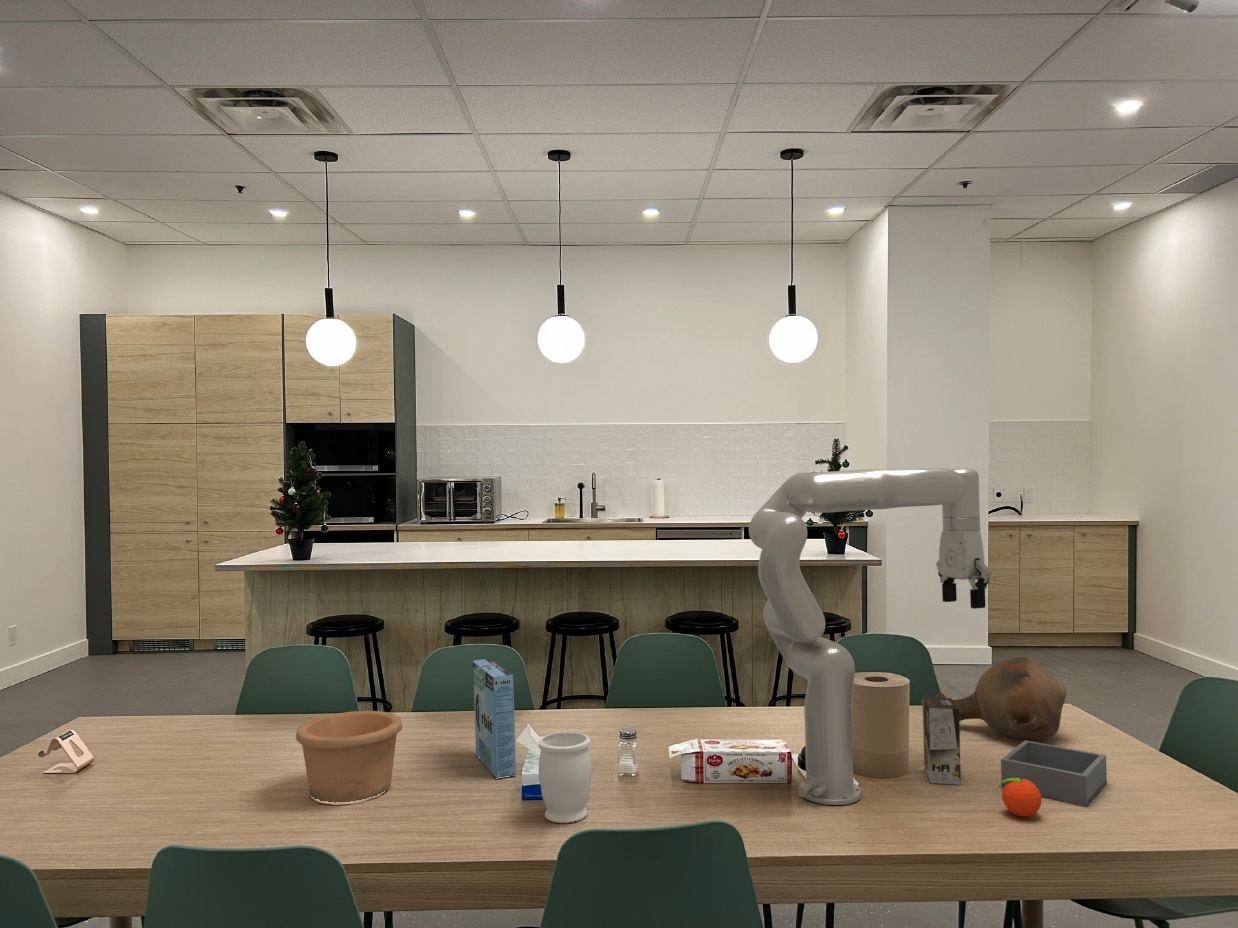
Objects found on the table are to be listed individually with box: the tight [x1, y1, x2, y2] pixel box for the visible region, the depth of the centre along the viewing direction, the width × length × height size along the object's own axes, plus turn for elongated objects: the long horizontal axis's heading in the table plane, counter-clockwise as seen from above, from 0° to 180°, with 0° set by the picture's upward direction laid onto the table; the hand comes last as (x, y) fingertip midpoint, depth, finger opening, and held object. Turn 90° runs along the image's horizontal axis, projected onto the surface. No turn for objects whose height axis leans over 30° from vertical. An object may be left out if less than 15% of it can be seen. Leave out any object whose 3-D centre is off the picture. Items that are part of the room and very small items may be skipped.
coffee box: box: [921, 697, 962, 786], centre depth 184 cm, size 9×6×16 cm
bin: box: [1000, 739, 1108, 808], centre depth 177 cm, size 16×16×6 cm
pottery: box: [295, 710, 403, 803], centre depth 184 cm, size 22×22×14 cm
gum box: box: [472, 658, 517, 779], centre depth 198 cm, size 20×5×23 cm, turn 23°
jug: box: [936, 656, 1067, 741], centre depth 212 cm, size 20×20×30 cm
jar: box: [537, 731, 593, 824], centre depth 168 cm, size 11×10×15 cm
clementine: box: [995, 778, 1042, 818], centre depth 163 cm, size 8×7×7 cm
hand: (963, 604), depth 183 cm, fingers open, 9 cm apart
